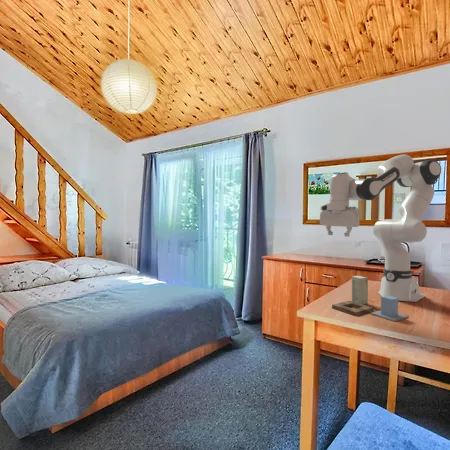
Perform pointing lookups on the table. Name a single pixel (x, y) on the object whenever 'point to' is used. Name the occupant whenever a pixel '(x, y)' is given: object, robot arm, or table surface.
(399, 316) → the ceramic pad
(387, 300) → the blue block
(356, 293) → the skincare box
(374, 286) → the table surface
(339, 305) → the walnut stand
